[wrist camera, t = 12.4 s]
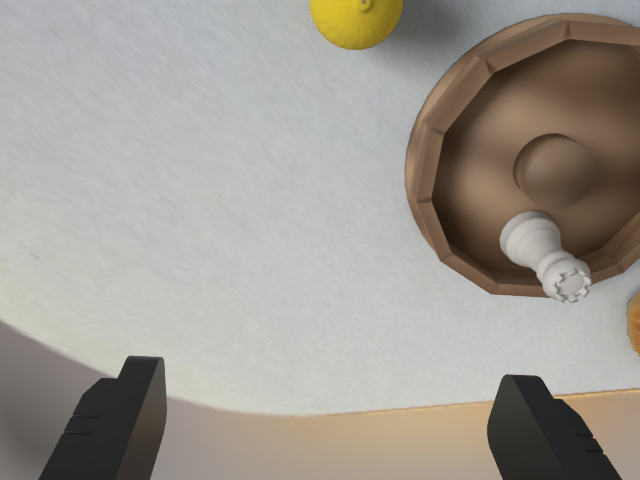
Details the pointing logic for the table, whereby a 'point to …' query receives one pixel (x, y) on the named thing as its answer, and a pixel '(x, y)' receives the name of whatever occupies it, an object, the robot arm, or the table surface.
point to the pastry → (634, 322)
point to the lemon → (355, 21)
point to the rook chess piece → (545, 255)
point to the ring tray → (505, 119)
